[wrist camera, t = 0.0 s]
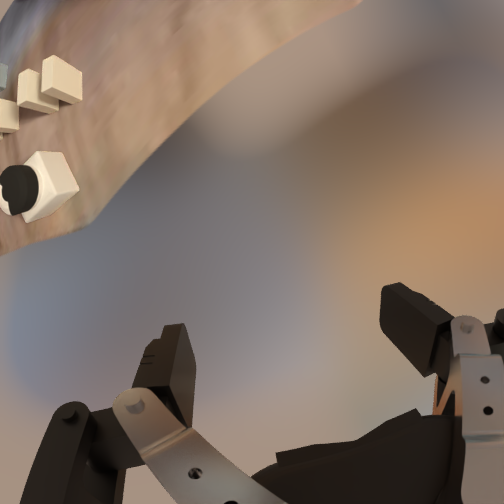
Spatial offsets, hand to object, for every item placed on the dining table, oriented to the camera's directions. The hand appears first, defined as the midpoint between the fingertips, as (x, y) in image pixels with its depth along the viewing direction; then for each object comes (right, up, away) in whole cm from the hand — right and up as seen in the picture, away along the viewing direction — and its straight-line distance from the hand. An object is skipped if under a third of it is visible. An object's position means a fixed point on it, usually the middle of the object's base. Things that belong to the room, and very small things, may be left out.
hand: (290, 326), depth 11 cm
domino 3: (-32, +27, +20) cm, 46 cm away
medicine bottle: (-31, +13, +24) cm, 41 cm away
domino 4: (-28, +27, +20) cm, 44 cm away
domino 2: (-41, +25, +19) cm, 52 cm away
